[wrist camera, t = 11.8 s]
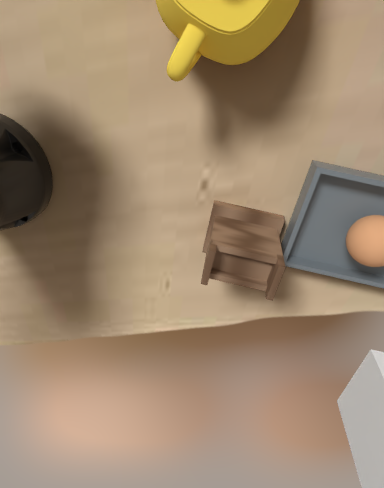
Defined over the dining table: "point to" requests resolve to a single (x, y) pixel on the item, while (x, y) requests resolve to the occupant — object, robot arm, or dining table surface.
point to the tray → (333, 222)
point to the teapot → (222, 30)
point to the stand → (244, 248)
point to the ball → (367, 241)
